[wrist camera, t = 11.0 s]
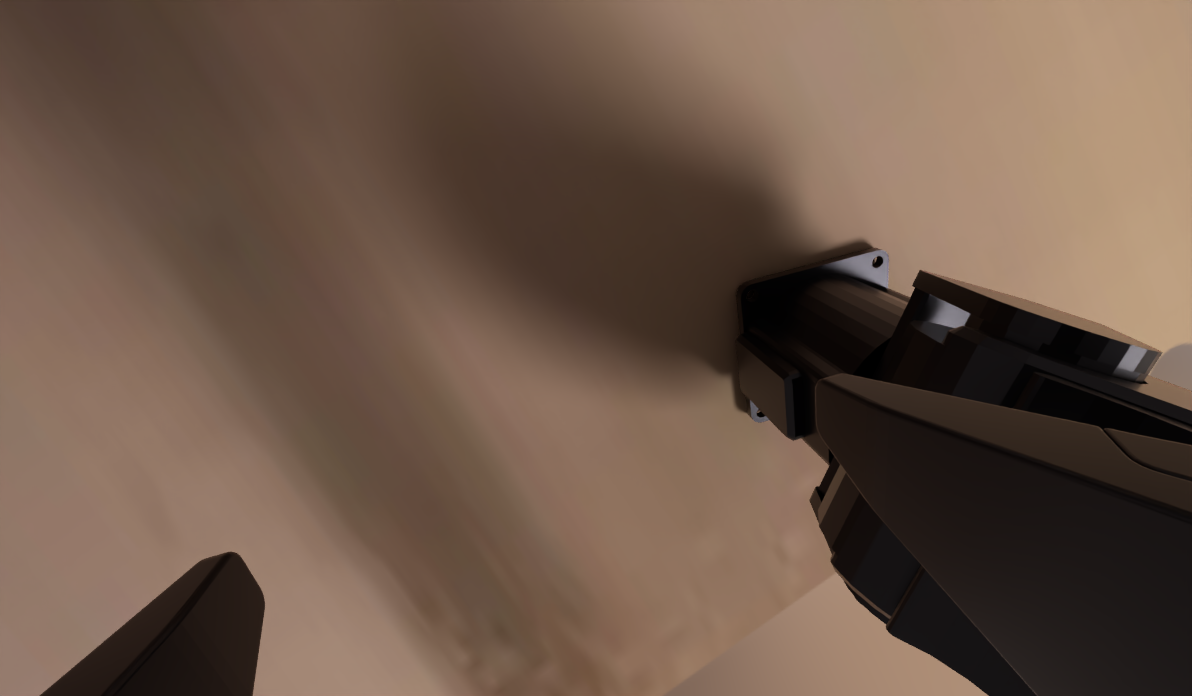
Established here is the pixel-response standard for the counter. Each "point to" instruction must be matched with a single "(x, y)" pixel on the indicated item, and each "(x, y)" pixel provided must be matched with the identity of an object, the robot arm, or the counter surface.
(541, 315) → the counter surface
